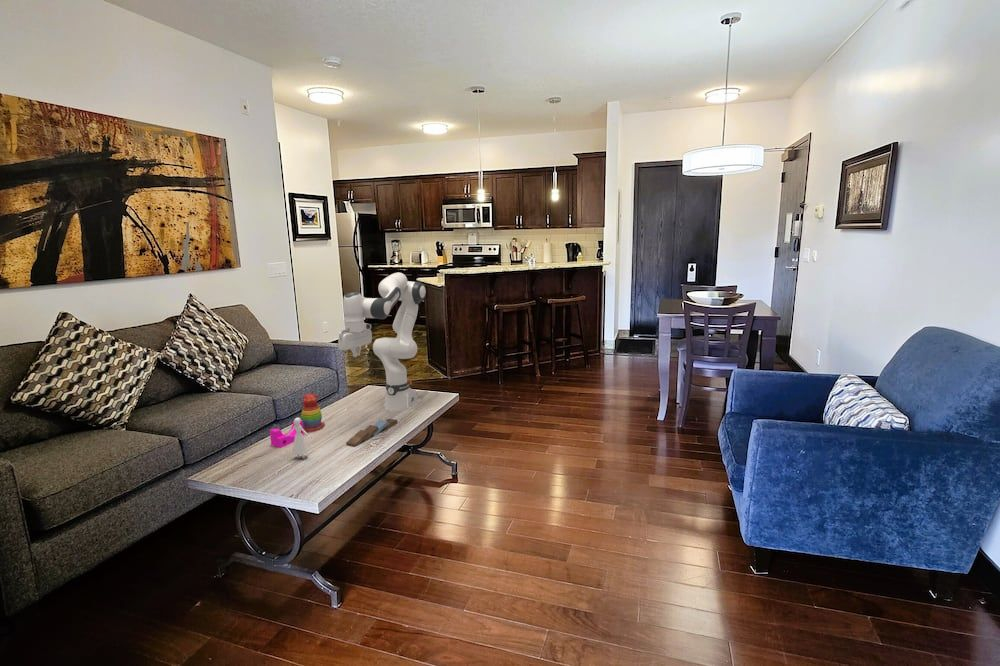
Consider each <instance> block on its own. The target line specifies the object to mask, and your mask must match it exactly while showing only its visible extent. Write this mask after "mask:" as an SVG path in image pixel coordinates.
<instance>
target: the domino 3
mask: <svg viewBox="0 0 1000 666" xmlns="http://www.w3.org/2000/svg"><path fill="white" fill-rule="evenodd" d="M387 424H388V422H387V421H385V420H383V419H378V420H377V421H376V422H375V423H373V424H372V425H373V426H378V428H379V430H378V431H377V432H375V433H374V434H373V435H372V436H371V437H375V436H377V435H378V434H379V433H380V432H381V431H382V430H384V429H383V428H384V427H385V426H386V425H387Z"/></svg>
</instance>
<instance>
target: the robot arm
mask: <svg viewBox="0 0 1000 666" xmlns="http://www.w3.org/2000/svg"><path fill="white" fill-rule="evenodd" d="M378 293H379V295H380V296H381V297H375V298H374V297H373V298H372V297H365V296H362V295H361V293H360V292H358V291H352V292H348V293H346V294H344V295H343V301H342V302H343V303H342V308H343V309H342V310H343V314H344V320H343V321H344V322H343V323H344V325H343V326H344V329H343V330H341V331H340V332H339V334H338V335H339V336H338V343H337V344H338V347H337V348H338V350H339V351H348V350H350V351H351V352H352V356H353V357H354V358H356V357H359V356H361V350H362V346H366V345H369V344H371V343H372V342H373V344H372V350H373V351H372V352H373V353H374V355H375V356H377V358H379V360H380V362H381V363H382V365H383V367H384V370H385V371H384V372H385V380H386V383H385V392H384V403H383V407H384V409H385V410H387V411H391V412H400V411H405V410H411V409H414V408H415V407H416V406H417V405H418V404H420V403H421V402H422V399H421V398H418V395H417V392H416V391H415V390H414V389H413V388H411V387H410V385H412V380H408V376H407V375H408V374H407V367H406V366H405V365H404V364H402V362H401V361H400V359H401V360H407V359H413V358H415V356H416V354H417V353H418V345H417V342H416V341H415V340H414V338H413V328H414V326H415V323H416V320H417V316H418V311H419V304H421V303H422V301H424V299H425V297H426V293H427V289H426V286H425V284H424V283H422V282H420V281H411V280H410V281H409V280H408V278H407V276H406V275H405V274H404V273H402V272H394V273H391V274H389V275H388V276H386V277H385V278H383V279H382V280H381V281H380V282H379V283H378ZM398 301H401V304H400V306H399V307H398V310H397V312H396V315H395V317H394V320H393V323H392V329H393V332H395V333H396V334H397V335H396V337H380V338H376V339H375V340H374V341H372V340H373V333H372V330H371V329H372V324H370V323H366V322H365V319H377V320H385V319H386V318H388V316H389V314H390V313H391V310H392V309H393V307H394V306H396V304H397V302H398Z"/></svg>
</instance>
